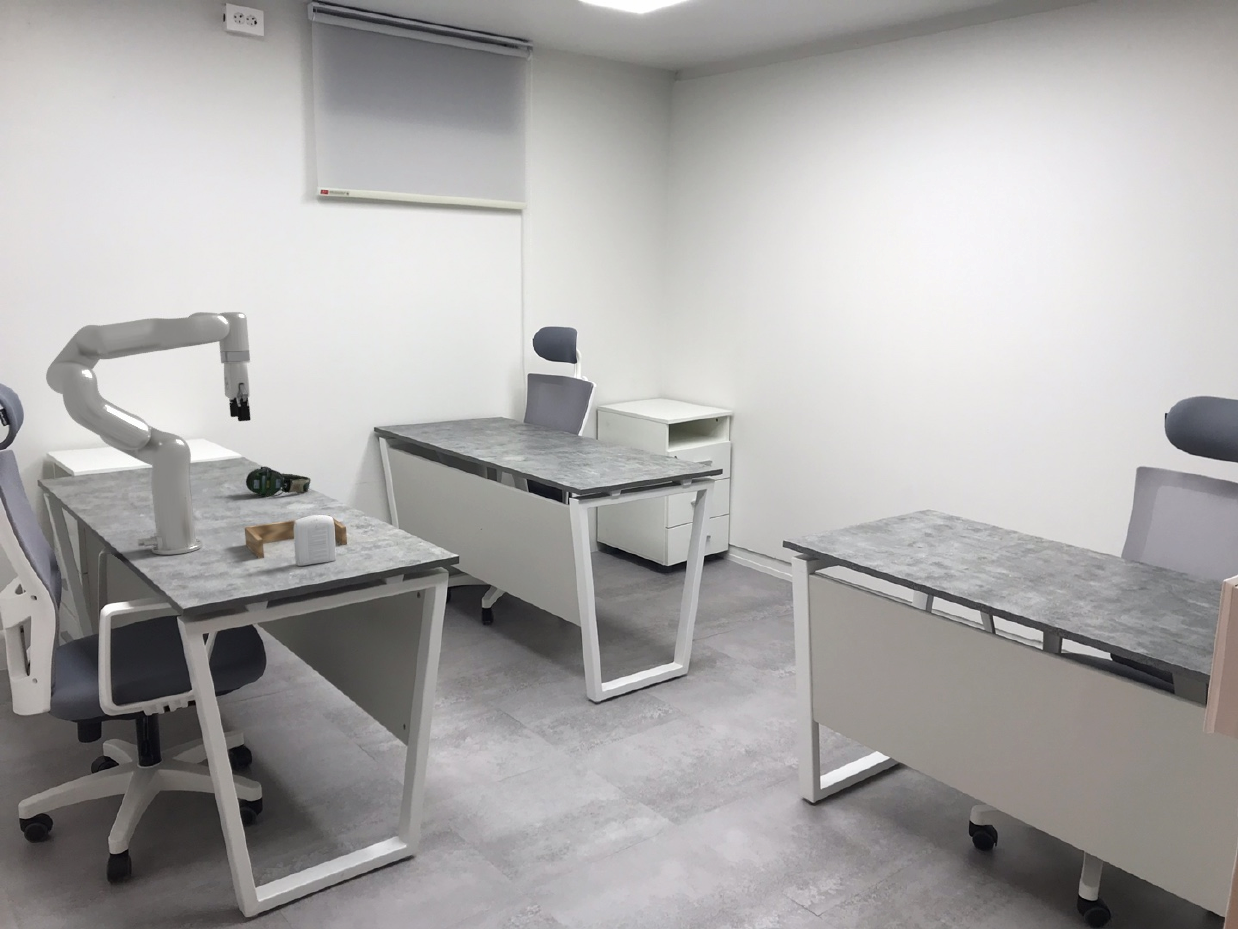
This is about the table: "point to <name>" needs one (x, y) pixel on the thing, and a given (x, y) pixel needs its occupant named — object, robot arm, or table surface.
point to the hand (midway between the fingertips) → (240, 418)
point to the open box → (281, 534)
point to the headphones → (275, 482)
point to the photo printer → (314, 540)
